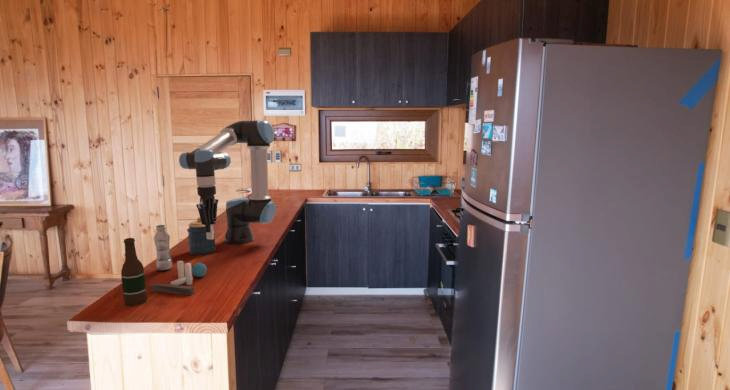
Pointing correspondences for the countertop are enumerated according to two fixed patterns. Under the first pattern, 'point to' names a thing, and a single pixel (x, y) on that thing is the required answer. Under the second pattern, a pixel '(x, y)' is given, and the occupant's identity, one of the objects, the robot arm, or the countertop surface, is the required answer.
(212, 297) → the countertop surface
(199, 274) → the ball
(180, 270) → the back pin
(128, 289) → the beer bottle
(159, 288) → the dark grey rod
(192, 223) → the canister
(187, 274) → the pin
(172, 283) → the front pin
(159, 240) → the plastic bottle
